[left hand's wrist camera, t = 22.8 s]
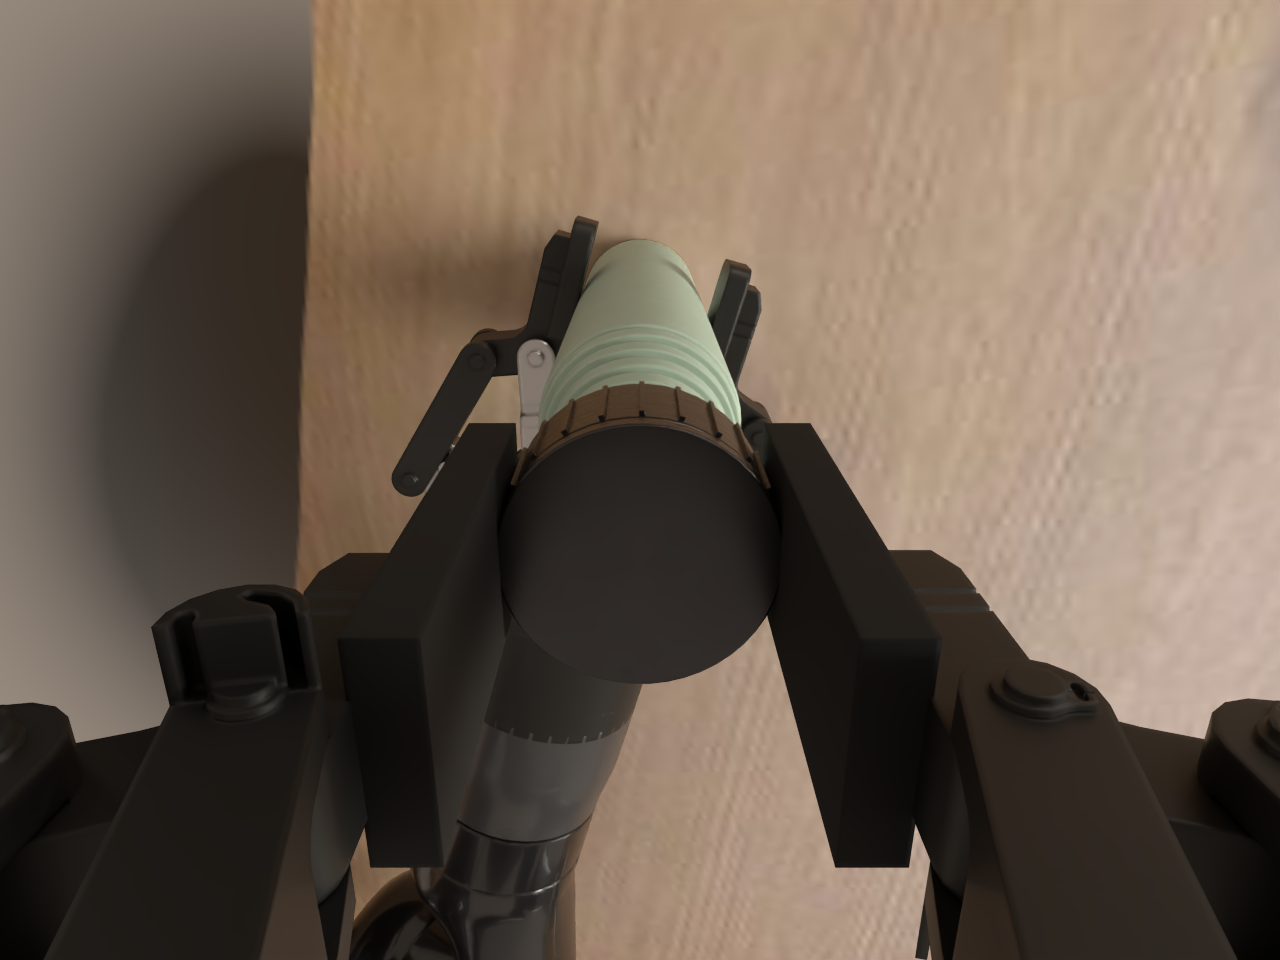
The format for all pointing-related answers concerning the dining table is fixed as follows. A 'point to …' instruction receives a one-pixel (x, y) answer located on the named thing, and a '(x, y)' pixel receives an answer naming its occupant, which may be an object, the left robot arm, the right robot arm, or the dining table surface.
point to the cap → (639, 536)
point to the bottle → (639, 333)
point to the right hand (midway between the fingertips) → (661, 245)
